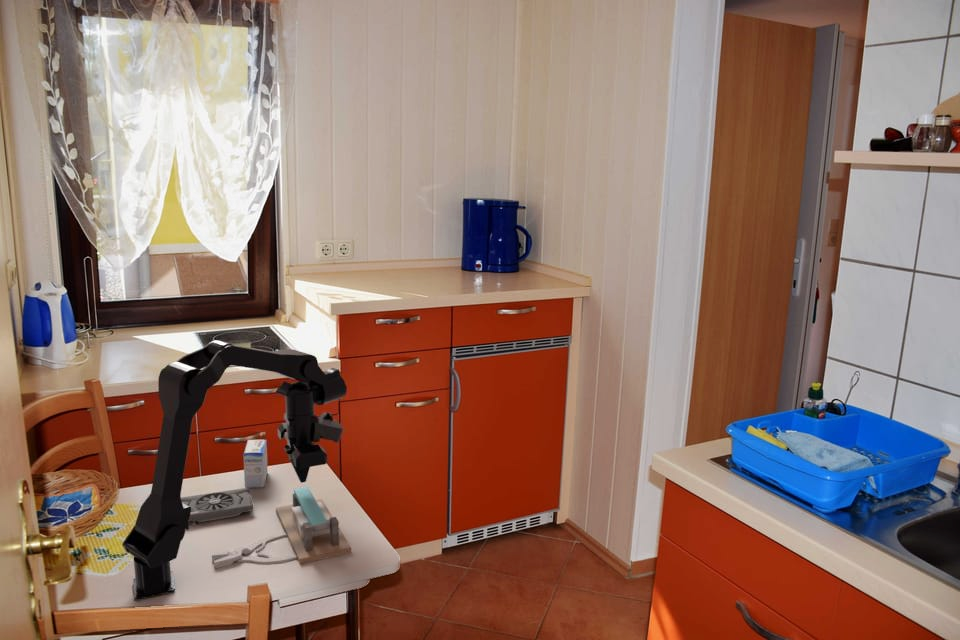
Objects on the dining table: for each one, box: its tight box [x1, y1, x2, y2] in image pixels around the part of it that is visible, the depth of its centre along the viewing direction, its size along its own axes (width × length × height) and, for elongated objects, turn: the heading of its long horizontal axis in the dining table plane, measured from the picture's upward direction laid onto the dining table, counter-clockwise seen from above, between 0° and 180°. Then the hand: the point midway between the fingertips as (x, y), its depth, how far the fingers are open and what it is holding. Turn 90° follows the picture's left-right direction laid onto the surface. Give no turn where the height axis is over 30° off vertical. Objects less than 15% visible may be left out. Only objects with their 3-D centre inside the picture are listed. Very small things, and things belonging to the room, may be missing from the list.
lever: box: [293, 486, 330, 532], centre depth 151 cm, size 17×3×1 cm, turn 26°
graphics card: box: [181, 487, 254, 527], centre depth 157 cm, size 17×4×12 cm
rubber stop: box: [292, 493, 301, 507], centre depth 158 cm, size 2×4×5 cm, turn 116°
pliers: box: [211, 532, 297, 569], centre depth 143 cm, size 10×2×15 cm
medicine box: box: [243, 439, 268, 489], centre depth 173 cm, size 8×4×9 cm, turn 10°
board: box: [275, 498, 352, 565], centre depth 151 cm, size 22×10×6 cm, turn 26°
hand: (302, 481), depth 156 cm, fingers closed
